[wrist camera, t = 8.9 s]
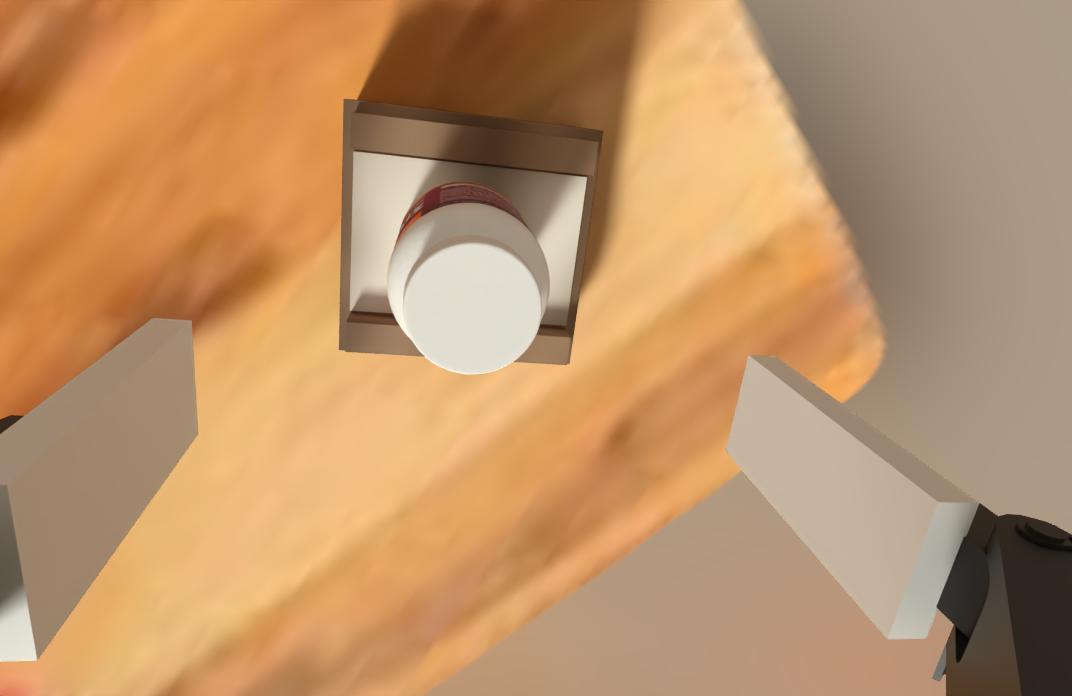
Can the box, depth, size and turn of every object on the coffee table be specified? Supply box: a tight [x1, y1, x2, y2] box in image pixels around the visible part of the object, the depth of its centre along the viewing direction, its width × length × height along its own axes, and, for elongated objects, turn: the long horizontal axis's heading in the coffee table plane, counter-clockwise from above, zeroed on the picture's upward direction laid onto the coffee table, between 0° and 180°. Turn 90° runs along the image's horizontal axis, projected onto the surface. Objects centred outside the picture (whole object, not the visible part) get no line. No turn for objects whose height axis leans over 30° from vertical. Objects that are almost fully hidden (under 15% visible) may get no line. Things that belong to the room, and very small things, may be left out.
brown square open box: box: [339, 99, 603, 365], centre depth 34 cm, size 12×12×6 cm
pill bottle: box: [387, 181, 550, 374], centre depth 27 cm, size 6×6×11 cm
